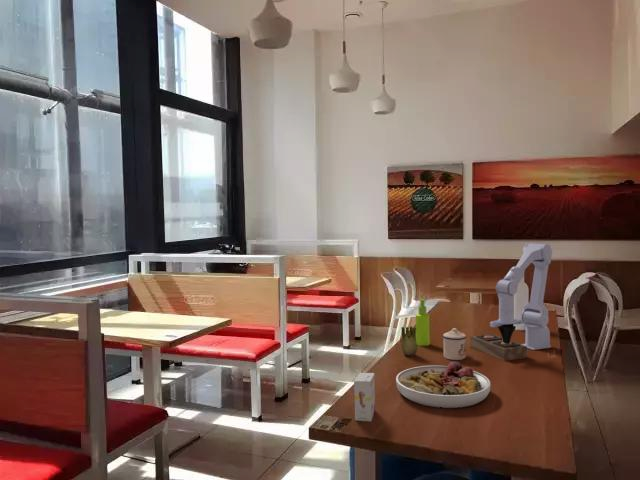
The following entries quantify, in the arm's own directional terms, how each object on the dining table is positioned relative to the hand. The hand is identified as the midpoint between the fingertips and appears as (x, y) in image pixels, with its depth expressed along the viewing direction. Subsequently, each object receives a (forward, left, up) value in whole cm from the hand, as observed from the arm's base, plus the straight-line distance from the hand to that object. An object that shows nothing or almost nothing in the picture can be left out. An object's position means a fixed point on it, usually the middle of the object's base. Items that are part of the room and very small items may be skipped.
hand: (506, 343), depth 215 cm
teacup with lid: (+19, -8, -5) cm, 21 cm away
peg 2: (0, 0, -5) cm, 5 cm away
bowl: (+47, +26, -6) cm, 54 cm away
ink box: (+78, +33, -5) cm, 85 cm away
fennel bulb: (+35, -17, -5) cm, 39 cm away
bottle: (-36, -35, -5) cm, 50 cm away
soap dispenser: (+21, -30, -5) cm, 37 cm away
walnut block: (0, -6, -5) cm, 8 cm away
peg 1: (0, -11, -5) cm, 12 cm away
